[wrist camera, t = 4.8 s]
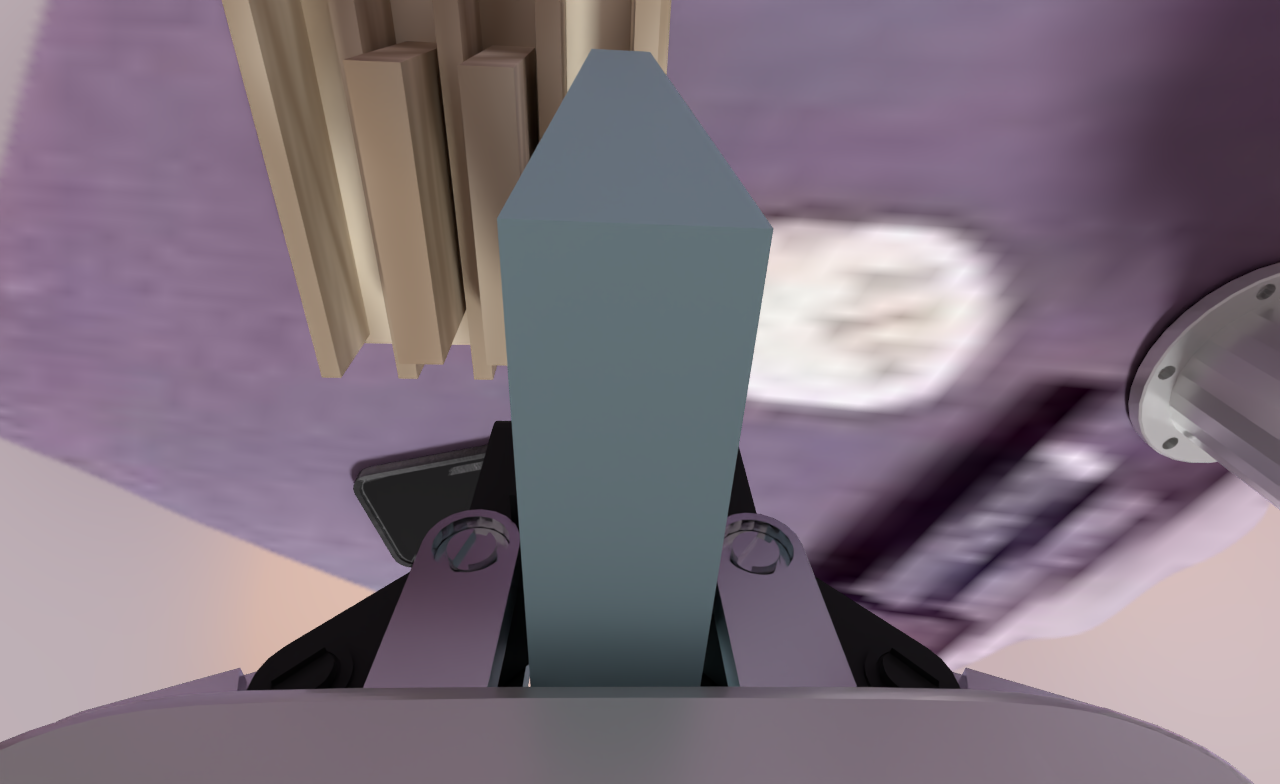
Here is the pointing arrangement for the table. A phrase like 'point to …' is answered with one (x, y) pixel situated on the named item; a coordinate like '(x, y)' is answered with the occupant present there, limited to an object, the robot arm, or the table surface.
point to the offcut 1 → (410, 194)
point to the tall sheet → (626, 375)
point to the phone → (417, 496)
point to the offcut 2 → (496, 161)
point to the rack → (328, 146)
